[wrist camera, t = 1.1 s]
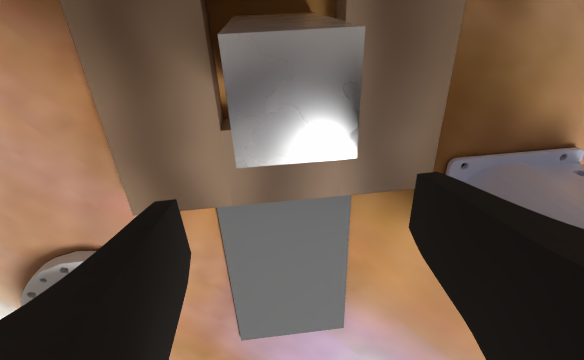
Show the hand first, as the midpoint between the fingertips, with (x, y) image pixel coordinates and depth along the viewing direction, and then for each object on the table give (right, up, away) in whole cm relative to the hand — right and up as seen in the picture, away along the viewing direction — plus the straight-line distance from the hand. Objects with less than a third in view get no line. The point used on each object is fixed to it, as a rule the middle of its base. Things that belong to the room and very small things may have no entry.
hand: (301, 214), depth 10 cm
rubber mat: (-1, -6, +16) cm, 17 cm away
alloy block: (-1, +8, +8) cm, 11 cm away
